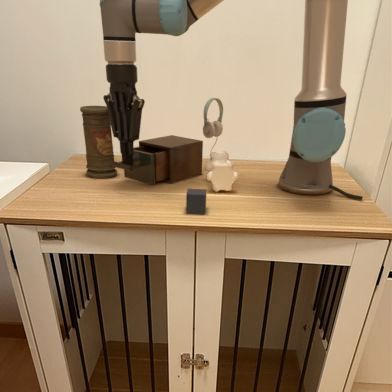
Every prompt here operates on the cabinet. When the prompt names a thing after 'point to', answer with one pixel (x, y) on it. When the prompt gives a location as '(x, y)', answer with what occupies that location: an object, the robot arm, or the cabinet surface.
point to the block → (196, 201)
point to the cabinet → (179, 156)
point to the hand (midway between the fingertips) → (128, 167)
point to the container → (98, 142)
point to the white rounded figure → (220, 171)
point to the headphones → (216, 126)
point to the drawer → (147, 165)
